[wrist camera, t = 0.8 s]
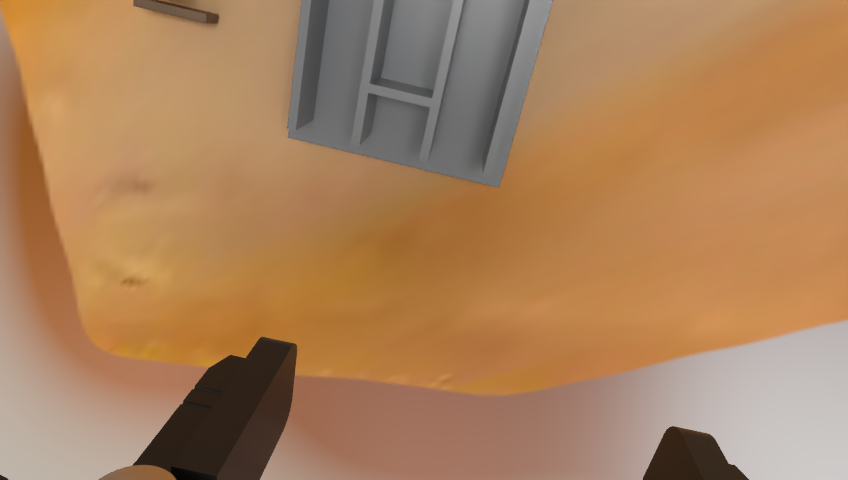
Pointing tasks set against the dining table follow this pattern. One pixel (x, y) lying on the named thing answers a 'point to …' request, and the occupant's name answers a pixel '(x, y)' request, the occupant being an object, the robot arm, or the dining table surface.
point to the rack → (416, 80)
